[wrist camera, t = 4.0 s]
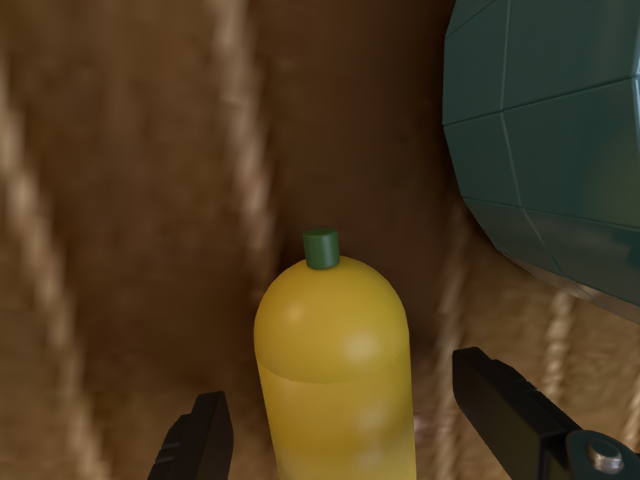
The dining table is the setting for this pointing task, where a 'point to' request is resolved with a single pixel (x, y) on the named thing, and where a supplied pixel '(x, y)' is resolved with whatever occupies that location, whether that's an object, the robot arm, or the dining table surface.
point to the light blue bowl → (551, 138)
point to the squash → (336, 369)
